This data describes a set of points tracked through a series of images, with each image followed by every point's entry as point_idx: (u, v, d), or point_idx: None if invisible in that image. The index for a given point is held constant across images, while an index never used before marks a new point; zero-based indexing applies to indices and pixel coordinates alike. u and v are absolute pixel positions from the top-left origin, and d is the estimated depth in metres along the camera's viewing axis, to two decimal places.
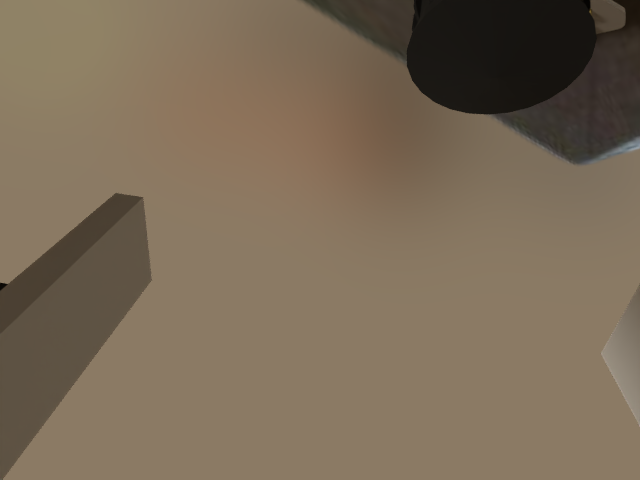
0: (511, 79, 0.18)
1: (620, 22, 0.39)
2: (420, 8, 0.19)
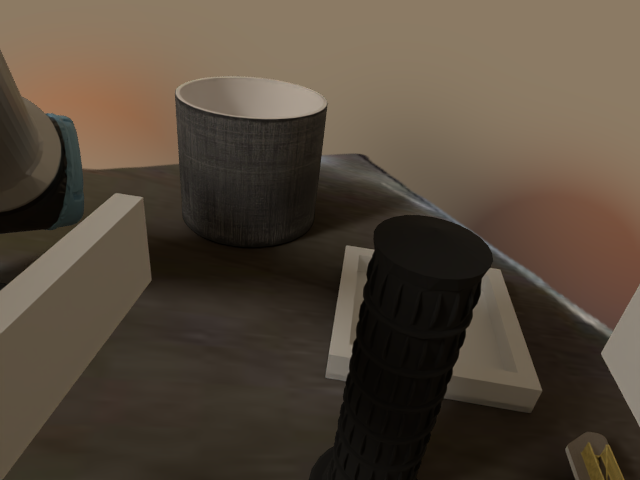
0: (443, 228, 0.28)
1: (597, 436, 0.43)
2: None
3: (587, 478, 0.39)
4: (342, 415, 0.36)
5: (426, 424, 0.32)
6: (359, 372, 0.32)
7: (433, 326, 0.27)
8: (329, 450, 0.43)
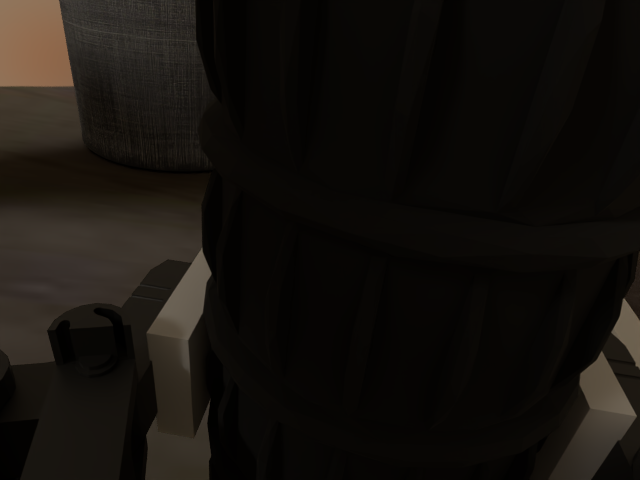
0: None
1: None
2: None
3: None
4: None
5: None
6: None
7: None
8: None
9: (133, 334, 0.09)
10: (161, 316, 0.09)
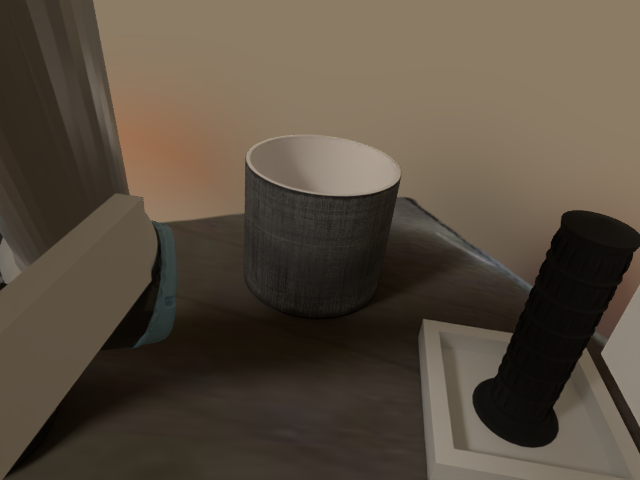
0: (608, 218, 0.44)
1: None
2: (584, 257, 0.43)
3: None
4: (512, 349, 0.52)
5: (580, 350, 0.49)
6: (538, 314, 0.48)
7: (605, 279, 0.43)
8: (481, 383, 0.59)
9: None
10: None
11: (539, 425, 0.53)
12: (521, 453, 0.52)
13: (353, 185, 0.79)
